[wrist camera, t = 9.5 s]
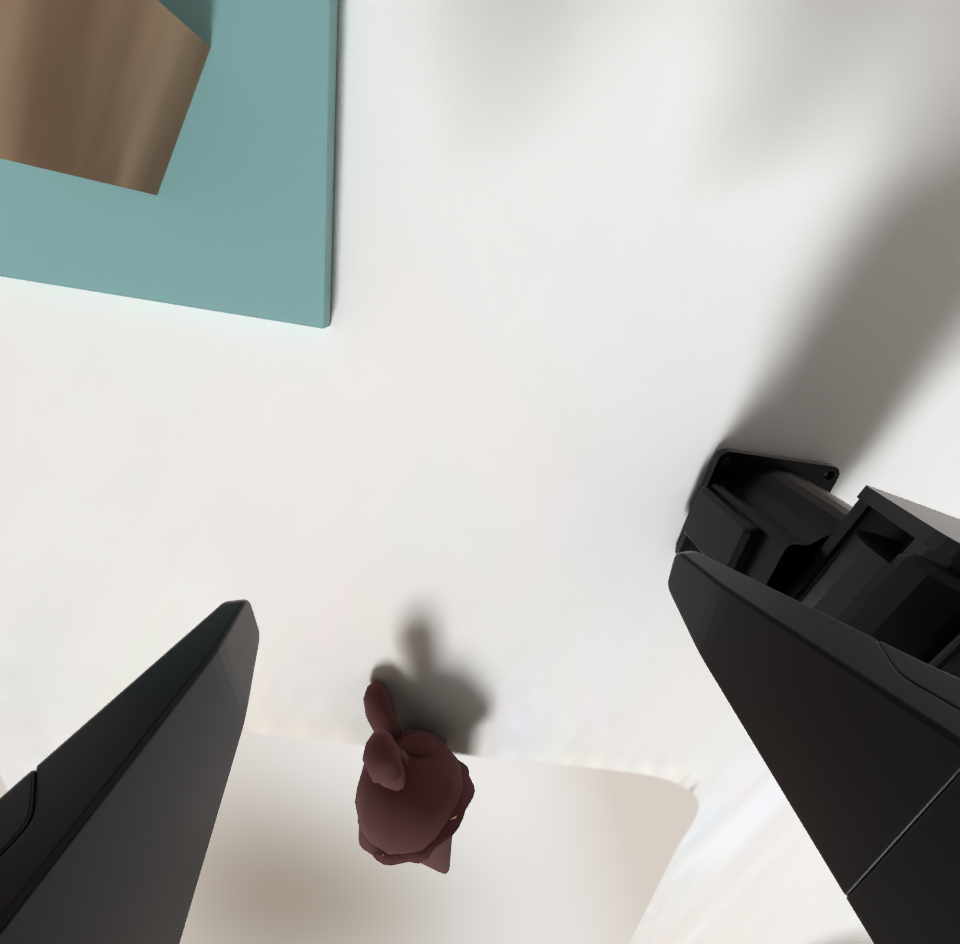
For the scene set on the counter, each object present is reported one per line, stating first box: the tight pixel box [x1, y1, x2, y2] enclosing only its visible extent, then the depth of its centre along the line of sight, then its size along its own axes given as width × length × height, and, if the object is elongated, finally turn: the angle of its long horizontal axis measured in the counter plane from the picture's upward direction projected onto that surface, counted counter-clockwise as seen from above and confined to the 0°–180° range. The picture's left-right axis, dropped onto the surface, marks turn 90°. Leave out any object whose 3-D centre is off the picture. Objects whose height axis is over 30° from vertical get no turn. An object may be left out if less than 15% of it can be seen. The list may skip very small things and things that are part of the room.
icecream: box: [355, 681, 475, 874], centre depth 28 cm, size 7×7×15 cm
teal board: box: [0, 0, 338, 328], centre depth 15 cm, size 14×14×1 cm
